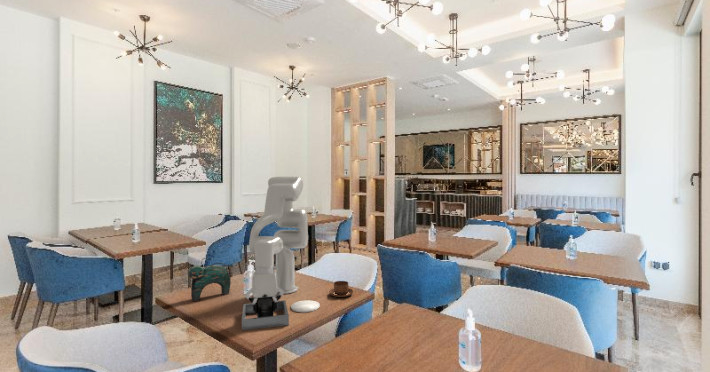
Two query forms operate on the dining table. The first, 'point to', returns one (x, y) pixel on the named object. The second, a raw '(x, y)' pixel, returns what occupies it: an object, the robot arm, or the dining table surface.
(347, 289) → the cup and saucer
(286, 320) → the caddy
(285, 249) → the robot arm
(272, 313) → the supplement bottle
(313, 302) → the plate
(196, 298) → the ceramic cat
